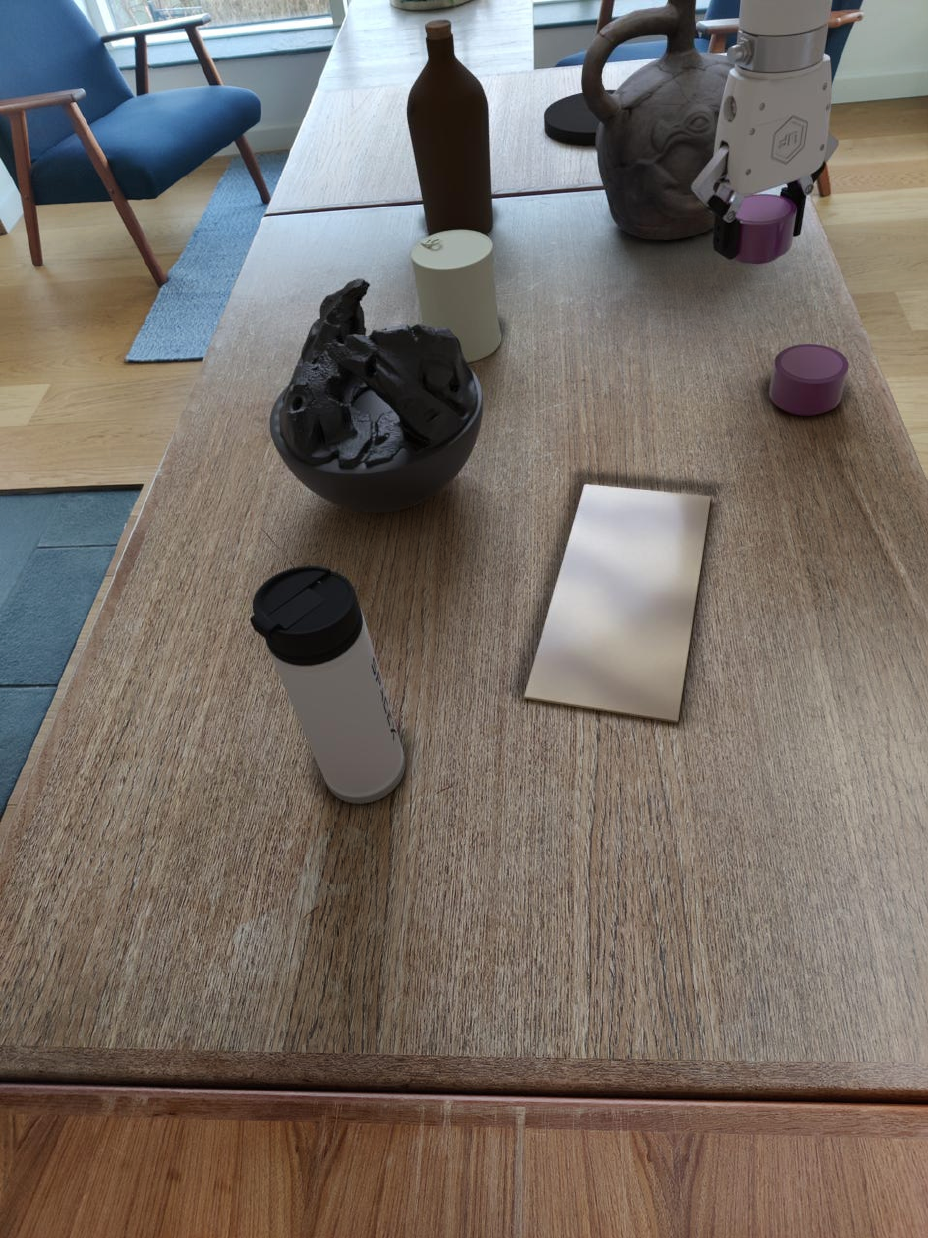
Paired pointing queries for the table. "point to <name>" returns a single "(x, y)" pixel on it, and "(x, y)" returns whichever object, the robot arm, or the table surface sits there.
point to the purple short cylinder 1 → (765, 228)
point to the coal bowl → (376, 409)
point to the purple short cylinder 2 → (808, 379)
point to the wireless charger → (571, 121)
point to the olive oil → (450, 139)
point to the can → (459, 289)
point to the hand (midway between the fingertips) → (756, 241)
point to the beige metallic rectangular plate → (623, 604)
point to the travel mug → (331, 679)
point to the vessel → (656, 123)
